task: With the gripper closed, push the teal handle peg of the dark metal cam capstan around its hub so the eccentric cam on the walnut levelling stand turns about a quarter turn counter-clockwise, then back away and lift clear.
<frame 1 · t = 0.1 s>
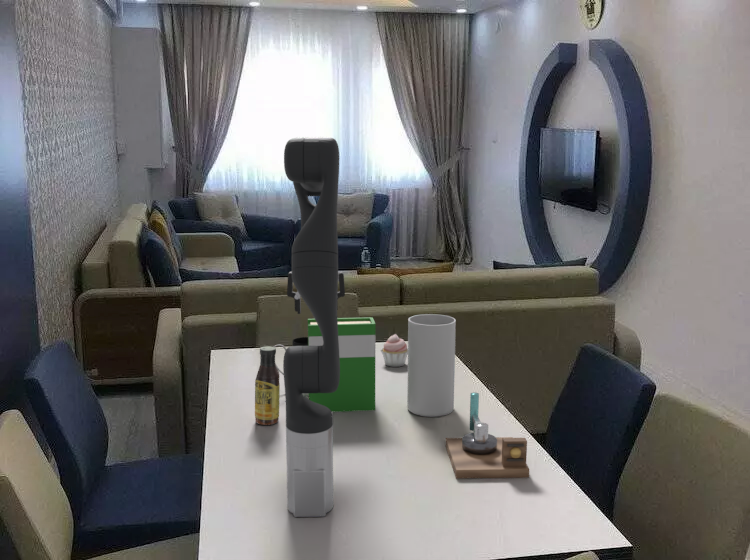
hand: (316, 313, 199), 29 cm above the table, tool pointing down, fingers open, 8 cm apart
glass holder: (296, 391, 230), on the table
stand: (485, 461, 182), on the table
cam capstan: (478, 422, 186), point 7 cm above the table, hinge at 0.0°
cylinder vase: (430, 410, 215), on the table
sauce bottle: (267, 422, 206), on the table
hardback book: (341, 407, 217), on the table
cupcake: (395, 365, 256), on the table
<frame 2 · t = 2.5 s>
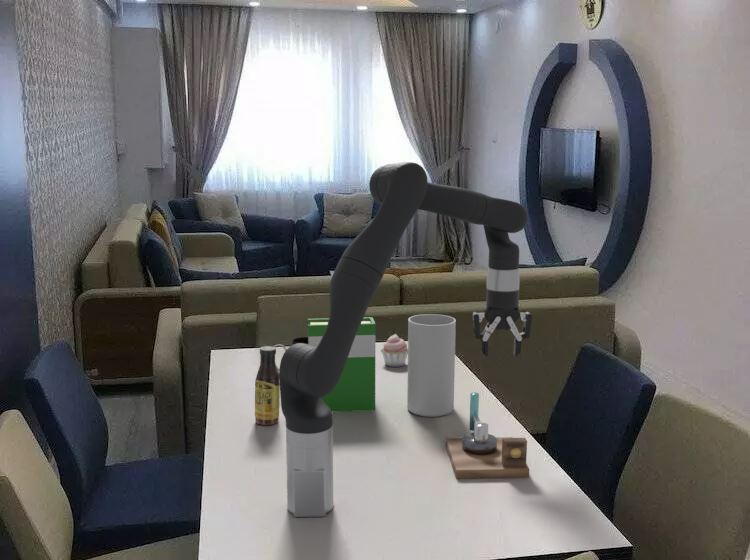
hand: (500, 355, 189), 22 cm above the table, tool pointing down, fingers open, 6 cm apart
nothing on the table moved.
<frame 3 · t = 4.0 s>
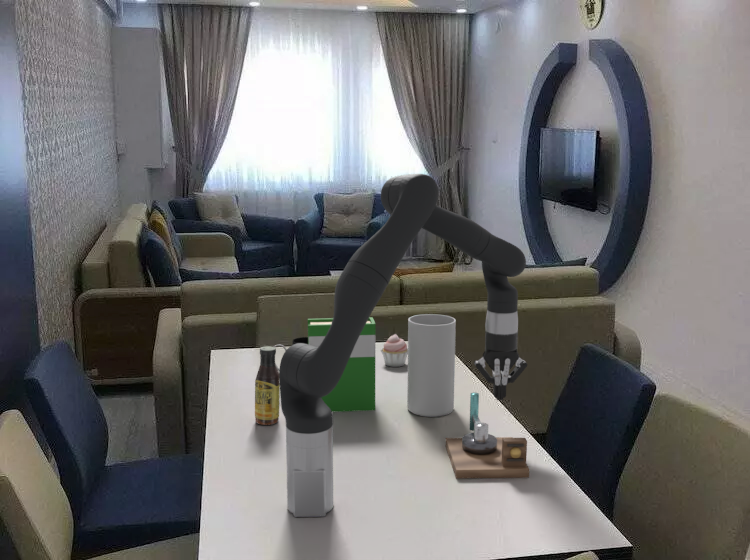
hand: (499, 398, 191), 11 cm above the table, tool pointing down, fingers closed
nothing on the table moved.
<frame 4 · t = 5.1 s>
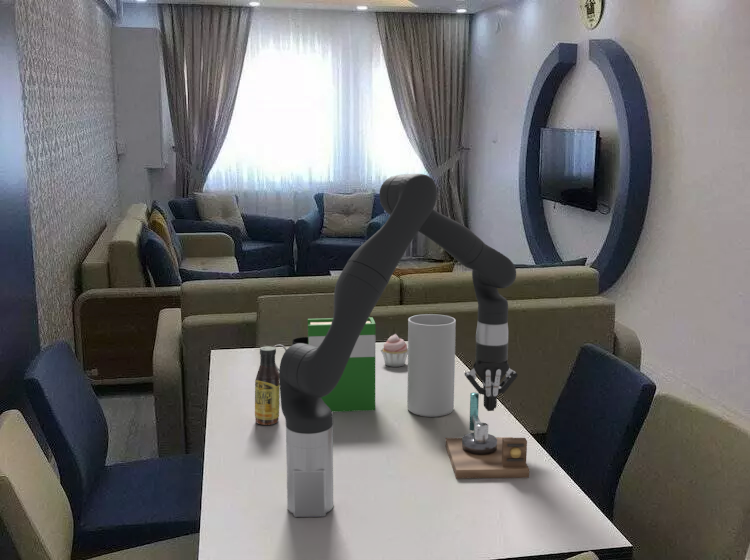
hand: (490, 409, 191), 8 cm above the table, tool pointing down, fingers closed
cam capstan: (478, 422, 186), point 7 cm above the table, hinge at 0.2°, touching gripper
everything else where it was.
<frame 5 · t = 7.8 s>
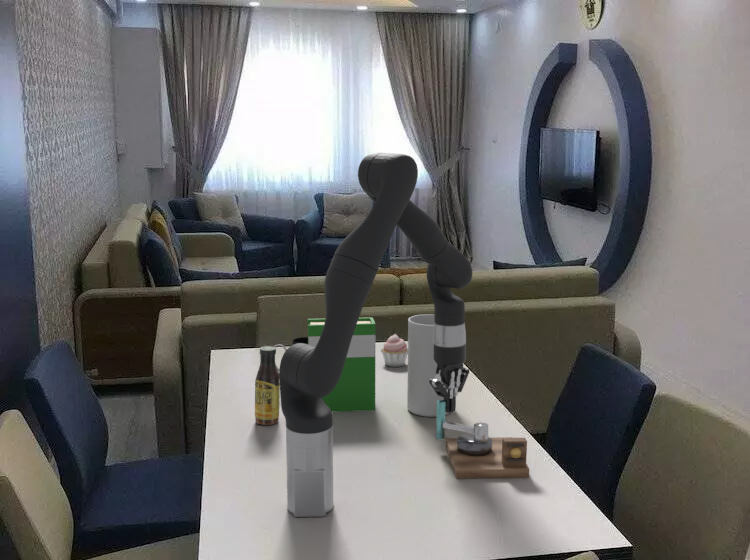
hand: (449, 411, 189), 9 cm above the table, tool pointing down, fingers closed
cam capstan: (463, 425, 184), point 7 cm above the table, hinge at 60.1°, touching gripper
everything else where it was.
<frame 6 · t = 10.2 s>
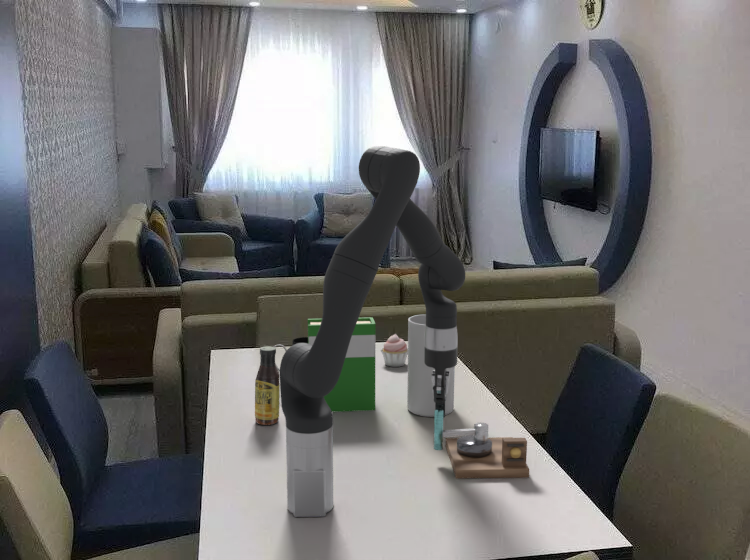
hand: (440, 416, 185), 9 cm above the table, tool pointing down, fingers closed
cam capstan: (463, 430, 181), point 7 cm above the table, hinge at 97.8°
everything else where it was.
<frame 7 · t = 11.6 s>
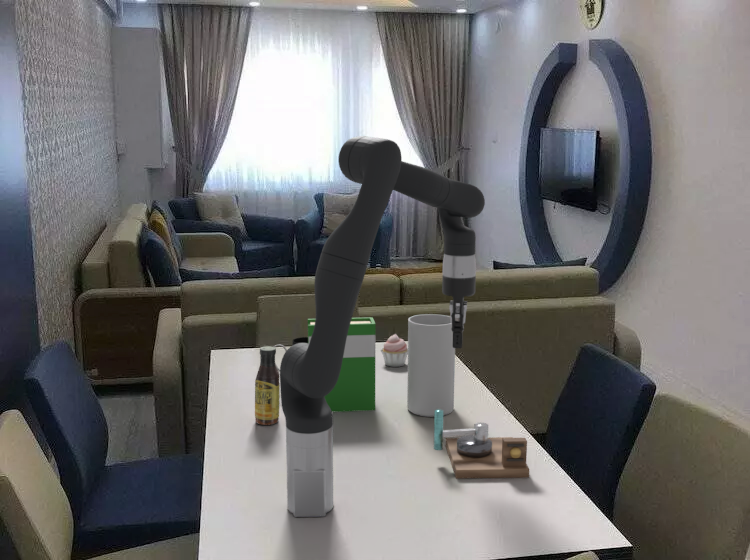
hand: (457, 347, 184), 25 cm above the table, tool pointing down, fingers closed
nothing on the table moved.
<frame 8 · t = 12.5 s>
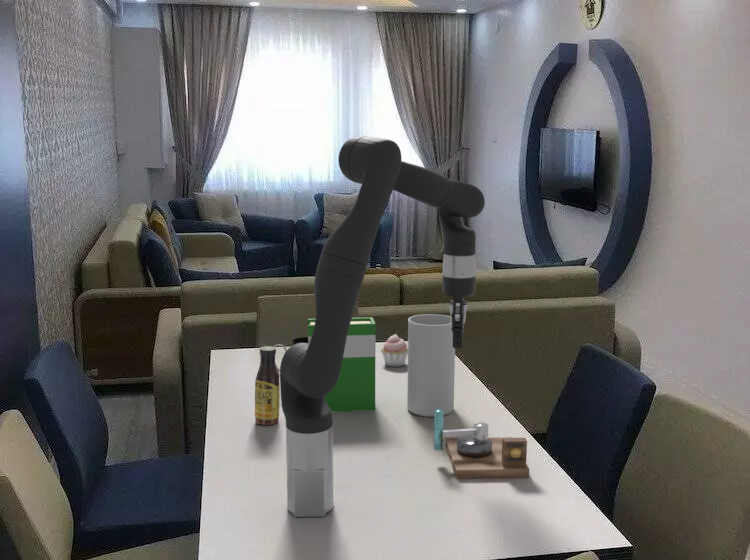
hand: (457, 347, 184), 25 cm above the table, tool pointing down, fingers closed
nothing on the table moved.
at the end: cam capstan at +98° (first picture: +0°); cam capstan touching nothing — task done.
